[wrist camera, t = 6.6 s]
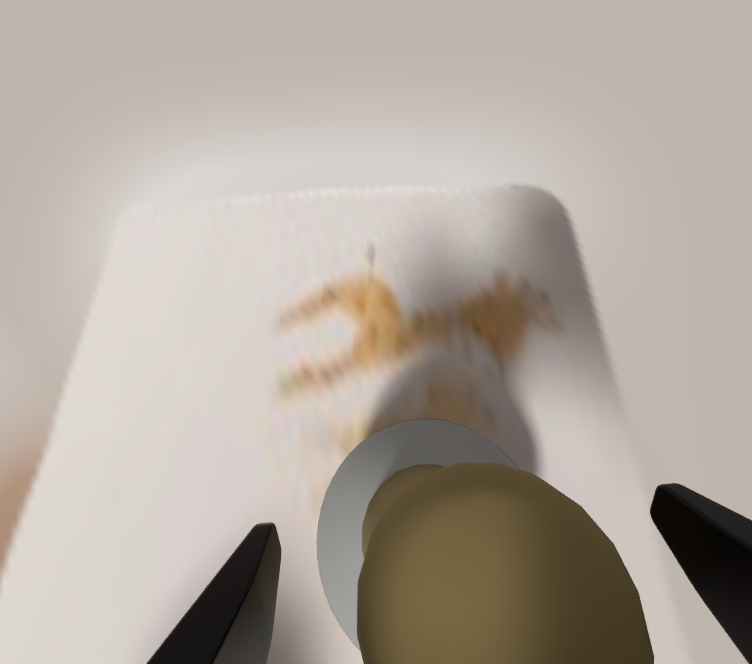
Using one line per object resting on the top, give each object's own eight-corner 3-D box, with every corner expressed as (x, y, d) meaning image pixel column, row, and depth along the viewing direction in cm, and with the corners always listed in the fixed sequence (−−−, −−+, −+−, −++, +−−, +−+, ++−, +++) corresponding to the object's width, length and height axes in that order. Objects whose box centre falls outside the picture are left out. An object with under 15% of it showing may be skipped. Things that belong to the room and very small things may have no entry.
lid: (553, 690, 14) (562, 702, 13) (303, 660, 15) (298, 669, 14) (532, 430, 18) (538, 428, 17) (335, 413, 18) (333, 410, 18)
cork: (352, 475, 16) (304, 461, 6) (479, 453, 17) (627, 406, 7) (372, 637, 14) (347, 1026, 4) (520, 609, 14) (845, 905, 4)
